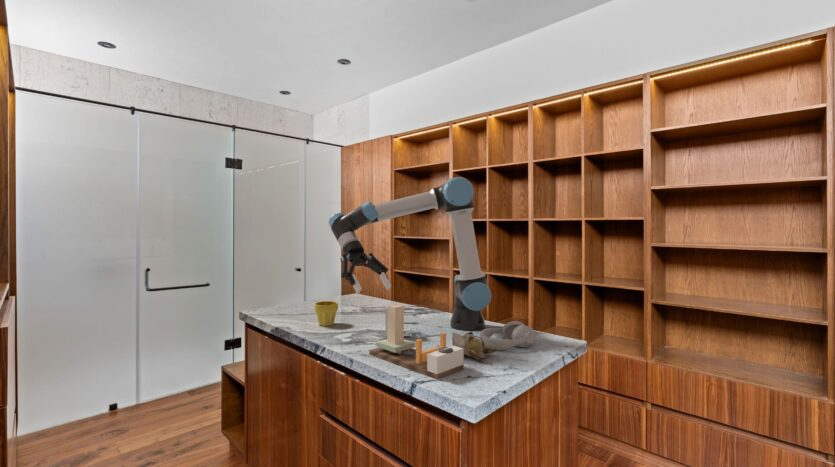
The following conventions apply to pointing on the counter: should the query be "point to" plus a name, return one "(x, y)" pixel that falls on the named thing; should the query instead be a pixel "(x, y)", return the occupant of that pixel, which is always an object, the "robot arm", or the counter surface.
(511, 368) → the counter surface
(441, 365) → the cream rectangular block
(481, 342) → the ceramic sculpture
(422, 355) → the frame
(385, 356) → the rail base
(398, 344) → the upright wooden block
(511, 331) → the headphones
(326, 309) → the plant pot
